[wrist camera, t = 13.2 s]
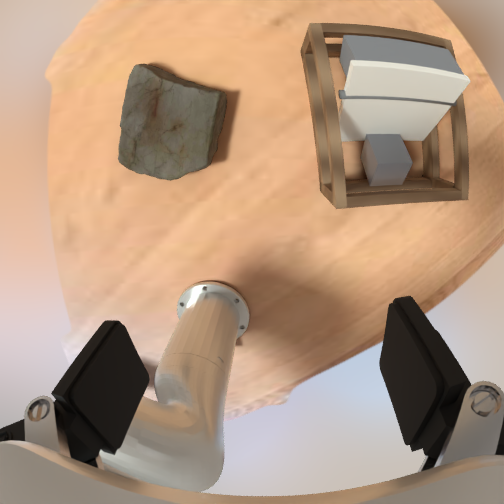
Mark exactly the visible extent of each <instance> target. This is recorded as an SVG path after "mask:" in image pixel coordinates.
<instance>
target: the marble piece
mask: <svg viewBox="0 0 504 504" xmlns="http://www.w3.org/2000/svg"><path fill="white" fill-rule="evenodd" d="M226 103H227V99H226V94H225V93H224V92H221V91H217V90H214V89H211V88H207V87H204V86H201V85H197V84H195V83H193V82H190V81H186V80H183V79H180V78H178V77H176V76H175V75H173V74H171V73H168V72H166V71H164V70H162V69H160V68H158V67H155V66H150V65H147V64H138V65H135V66H134V68H133V70H132V72H131V74H130V76H129V80H128V84H127V89H126V93H125V100H124V104H123V107H122V116H121V123H120V127H121V136H120V143H119V156H118V160H119V162H120V163H121V164H122V165H124V166H125V167H126V168H128V169H130V170H132V171H135V172H136V173H139V174H146V175H149V176H153V177H156V178H159V179H166V180H174V179H179V178H181V177H182V176H184V175H186V174H187V173H189V172H194V171H197V170H201V169H204V168H206V167H208V166H209V165H210V164H211V161H212V157H213V155H214V153H215V152H216V151H217V148H218V147H217V139H218V136H219V134H220V132H221V130H222V124H223V121H224V117H225V111H226Z"/></svg>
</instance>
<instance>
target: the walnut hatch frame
mask: <svg viewBox="0 0 504 504" xmlns="http://www.w3.org/2000/svg"><path fill="white" fill-rule="evenodd" d="M344 35H356V36H370V37H380V38H389V39H397V40H404V41H410V42H416V43H421V44H426V45H431V46H435V47H440V48H444V49H448V50H449V51H450V53H451V54H452V56H453V58H454V59H455V55H454V51H453V47H452V43H451V40H447V39H443V38H439V37H435V36H431V35H427V34H422V33H417V32H412V31H407V30H401V29H394V28H387V27H379V26H370V25H358V24H339V23H310V24H309V27H308V30H307V33H306V36H305V39H304V42H303V45H302V48H301V56H302V61H303V66H304V72H305V77H306V83H307V89H308V95H309V101H310V108H311V115H312V122H313V129H314V136H315V144H316V153H317V162H318V171H319V181H320V191H321V192H322V193H323V195H324V196H325V197H326V198H327V199H328V200H329V201H330V202H331V203H332V205H333V206H334V207H335V208H336V209H342V208H353V207H365V206H377V205H390V204H404V203H419V202H436V201H456V200H468V189H469V158H468V138H467V125H466V116H465V108H464V100H463V94H462V93H461V94H460V96H459V97H458V98H457V100H456V102H457V104H456V106H451V107H450V112H451V120H452V131H453V144H454V183H452V182H449V181H446V180H443V179H440V178H439V149H438V134H437V125H436V126H435V127H434V128H433V129H432V131H431V132H430V133H429V134H428V136H427V137H426V138H425V139H424V140H423V141H422V146H423V165H424V175H422V177H410V178H405V180H404V182H403V184H402V185H385V186H370V185H369V182H368V179H366V180H351V181H345V170H344V159H343V149H342V140H341V132H340V124H339V116H338V109H337V102H336V96H335V90H334V84H333V78H332V73H331V68H330V62H329V58H328V57H340V55H341V48H342V44H326V43H325V39H324V38H343V36H344ZM455 61H456V59H455ZM428 188H432V189H428ZM405 189H409V190H405ZM387 190H391V191H387ZM372 191H375V192H372ZM358 192H361V193H358ZM346 193H348V194H346Z"/></svg>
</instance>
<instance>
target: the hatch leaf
mask: <svg viewBox="0 0 504 504" xmlns="http://www.w3.org/2000/svg"><path fill="white" fill-rule="evenodd" d="M340 63H341V65H342V68H343V70H344V73H345V75H346V78H347V79H346V84H345V88H344V90H339V98H340V99H342V101H341V105H340V109H339V113H338V116H339V124H340V132H341V140H342V142H344V141H365V137H366V134H400V136H401V138H402V140H409V141H423V140H424V139H425V138H426V137H427V136H428V134H429V133H430V132H431V131H432V129H433V128H434V127H435V126H436V125H437V123H438V122H439V121H440V120H441V118H442V117H443V116H444V115H445V114H446V112H447V111H448V110H449V109H450V107H451V106H456V104H457V102H456V100H457V98H458V97H459V96H460V94H461V93H462V92H463V91H464V89H465V88H466V87H467V85H468V84H469V83H470V80H469V78H468V76H466V75H464V74H463V72H462V70H461V69H460V67H459V66H458V64H457V62H456V61H455V59H454V58H453V56H452V54H451V53H450V51H449V50H448V49H444V48H440V47H435V46H431V45H426V44H421V43H416V42H410V41H404V40H397V39H389V38H380V37H370V36H356V35H344V36H343V42H342V48H341V55H340Z"/></svg>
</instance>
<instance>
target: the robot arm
mask: <svg viewBox="0 0 504 504" xmlns="http://www.w3.org/2000/svg"><path fill="white" fill-rule="evenodd" d="M205 286H206V287H205ZM236 298H237V299H236ZM177 314H178V317H179V322H178V324H177V326H176V328H175V330H174V332H173V334H172V337H171V339H170V341H169V343H168V345H167V347H166V349H165V352H164V354H163V356H162V358H161V360H160V363H159V365H158V367H157V370H156V372H155V378H154V387H155V392H156V396H157V399H158V402H157V401H153V400H151V399H148V398H146V397H144V396H143V394H144V392H145V390H146V388H147V386H148V383H149V375H148V372H147V371H146V369H145V367H144V365H143V363H142V361H141V359H140V357H139V355H138V353H137V351H136V349H135V347H134V345H133V342H132V340H131V338H130V336H129V334H128V332H127V329H126V327H125V326H124V325H122V323H121V322H120V321H110V320H107V321H104V322H103V323H102V325H101V326H100V327H99V328H98V330H97V331H96V332H95V334H94V335H93V336H92V338H91V339H90V340H89V341H88V343H87V344H86V345H85V347H84V348H83V349H82V351H81V352H80V353H79V355H78V356H77V357H76V359H75V360H74V362H73V363H72V364H71V366H70V367H69V369H68V370H67V371H66V373H65V374H64V376H63V377H62V378H61V380H60V381H59V383H58V384H57V386H56V387H55V388H54V390H53V391H52V393H51V394H52V395H53V396H54V397H55V399H56V400H55V402H53V401H52V399H51V398H50V397H48V396H40V397H37V398H35V399H34V400H32V401H31V402H30V403H29V405H28V406H27V408H26V410H25V416H24V417H25V418H24V419H23V420H20V421H18V422H16V423H13V424H11V425H8V426H6V427H3V428H1V429H0V504H504V393H503V391H502V390H501V389H500V388H499V387H498V386H497V385H496V384H494V383H491V382H487V381H481V382H477V383H475V384H473V385H471V383H470V381H469V380H468V378H467V376H466V375H465V373H464V371H463V370H462V368H461V366H460V365H459V363H458V361H457V360H456V358H455V357H454V355H453V354H452V352H451V350H450V349H449V347H448V346H447V344H446V343H445V341H444V340H443V338H442V337H441V335H440V334H439V332H438V331H437V330H435V329H434V327H433V326H432V324H431V323H430V322H429V320H428V319H427V317H426V316H425V314H424V313H423V312H422V310H421V309H420V307H419V306H418V305H417V303H416V302H415V300H414V299H413V298H412V297H411V296H406V297H400V298H395V299H394V301H393V303H391V304H389V307H388V314H387V321H386V328H385V334H384V340H383V346H382V351H381V357H380V370H381V373H382V376H383V379H384V381H385V384H386V387H387V390H388V393H389V396H390V399H391V402H392V405H393V408H394V411H395V414H396V417H397V420H398V423H399V426H400V430H401V433H402V436H403V439H404V442H405V444H406V445H410V447H411V450H412V452H413V451H416V450H419V449H422V448H423V451H424V454H425V455H426V457H425V459H424V461H423V463H422V465H421V467H420V469H419V471H418V473H415V474H411V475H408V476H405V477H401V478H397V479H393V480H390V481H385V482H381V483H377V484H372V485H368V486H363V487H357V488H352V489H346V490H341V491H334V492H326V493H318V494H308V495H295V496H264V497H263V496H232V495H219V494H208V493H201V491H204V490H206V489H209V488H210V487H211V486H213V485H214V484H215V483H216V482H217V480H218V479H219V477H220V475H221V472H222V469H223V464H224V434H223V420H224V408H225V401H226V395H227V389H228V383H229V378H230V372H231V367H232V361H233V355H234V350H235V344H236V339H237V338H239V337H240V336H241V335H242V334H243V333H244V332H245V330H246V329H247V326H248V323H249V314H250V313H249V308H248V306H247V303H246V301H245V300H244V298H243V297H242V296H241V295H240V294H239V293H238V292H237V291H236V290H234V289H233V288H231V287H229V286H227V285H225V284H222V283H218V282H211V281H208V282H200V283H196V284H194V285H191V286H190V287H188V288H187V289H186V290H185V291H184V292H183V293H182V295H181V297H180V298H179V301H178V304H177Z"/></svg>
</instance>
